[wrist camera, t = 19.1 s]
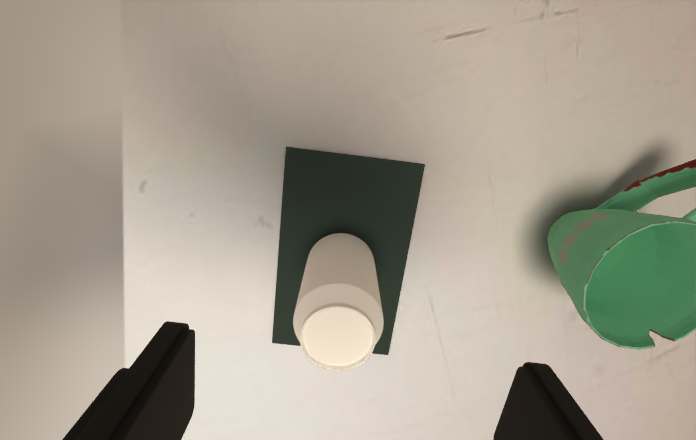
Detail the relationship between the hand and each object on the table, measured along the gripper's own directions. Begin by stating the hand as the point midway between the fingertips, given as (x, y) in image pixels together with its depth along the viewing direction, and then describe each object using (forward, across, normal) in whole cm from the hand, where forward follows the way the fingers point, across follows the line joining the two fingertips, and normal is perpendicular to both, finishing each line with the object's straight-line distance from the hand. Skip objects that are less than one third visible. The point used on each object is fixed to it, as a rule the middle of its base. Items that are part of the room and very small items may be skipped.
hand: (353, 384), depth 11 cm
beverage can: (+24, 0, +7) cm, 25 cm away
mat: (+24, 0, +8) cm, 25 cm away
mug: (+24, -22, 0) cm, 33 cm away
